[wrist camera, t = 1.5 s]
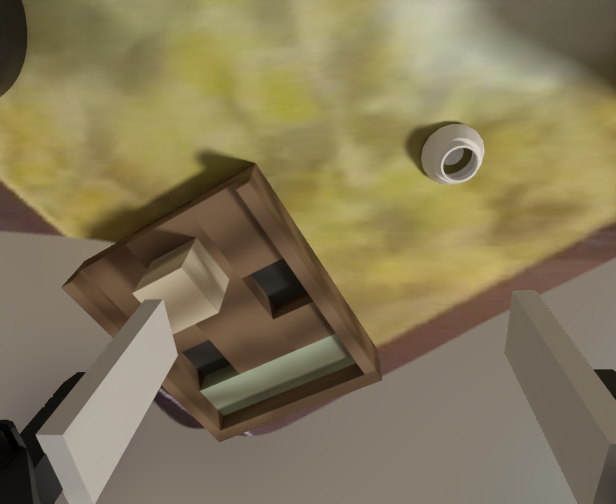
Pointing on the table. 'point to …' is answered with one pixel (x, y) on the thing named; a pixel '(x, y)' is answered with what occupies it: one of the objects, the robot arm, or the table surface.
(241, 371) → the box
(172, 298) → the maple cube
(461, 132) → the white tapered collar
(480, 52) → the table surface
